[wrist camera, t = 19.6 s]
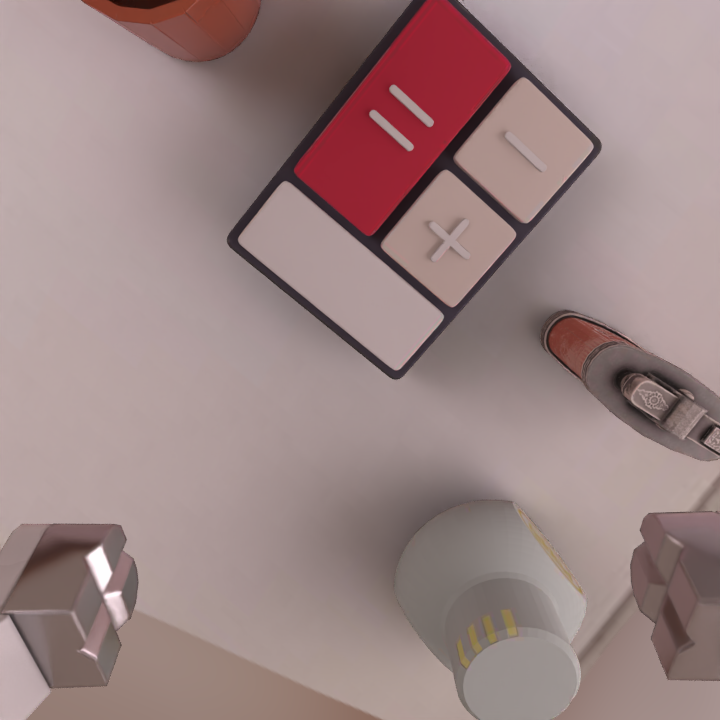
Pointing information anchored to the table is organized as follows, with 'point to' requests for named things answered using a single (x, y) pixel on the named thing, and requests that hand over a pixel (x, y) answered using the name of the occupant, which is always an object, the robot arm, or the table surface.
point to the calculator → (414, 185)
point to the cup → (184, 24)
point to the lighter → (637, 384)
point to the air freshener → (495, 609)
